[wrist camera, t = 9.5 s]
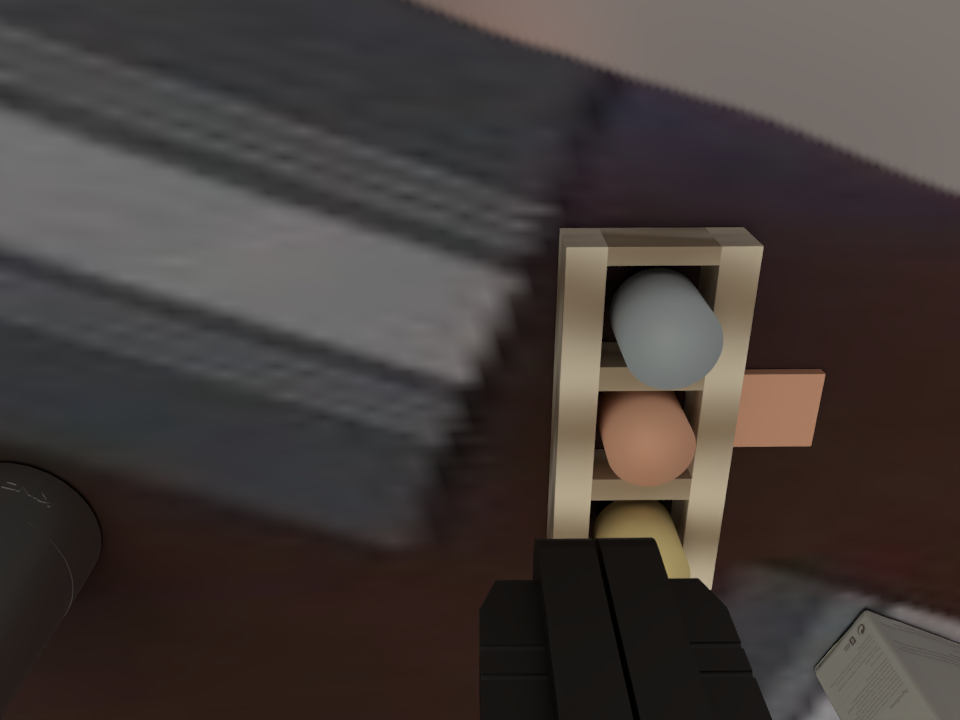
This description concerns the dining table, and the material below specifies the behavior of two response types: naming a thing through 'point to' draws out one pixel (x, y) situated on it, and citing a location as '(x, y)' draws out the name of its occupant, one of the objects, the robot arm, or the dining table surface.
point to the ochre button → (644, 530)
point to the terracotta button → (645, 435)
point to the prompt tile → (778, 407)
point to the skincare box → (891, 672)
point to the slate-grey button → (665, 329)
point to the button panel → (602, 367)
